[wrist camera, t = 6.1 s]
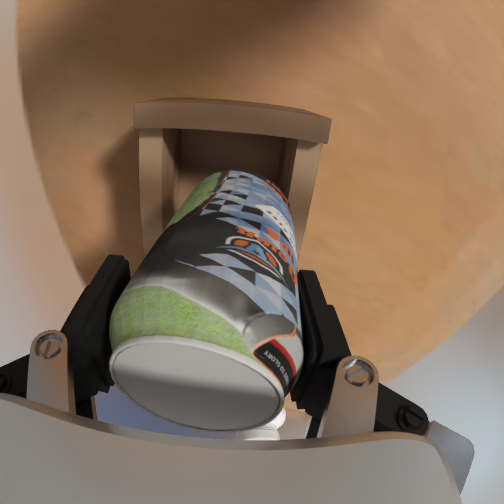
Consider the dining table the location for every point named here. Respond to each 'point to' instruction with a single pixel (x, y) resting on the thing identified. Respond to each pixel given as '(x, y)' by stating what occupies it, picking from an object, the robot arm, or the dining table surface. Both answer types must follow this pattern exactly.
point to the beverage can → (214, 310)
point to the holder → (223, 153)
